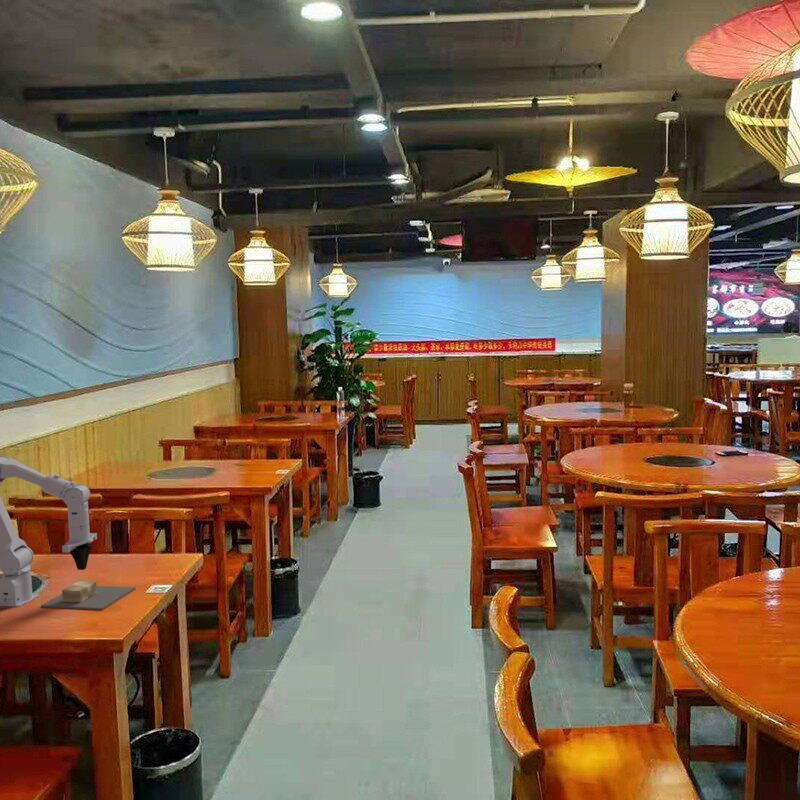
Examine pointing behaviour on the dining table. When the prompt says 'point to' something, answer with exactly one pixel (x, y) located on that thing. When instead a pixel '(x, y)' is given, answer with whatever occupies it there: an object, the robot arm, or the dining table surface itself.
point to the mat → (93, 599)
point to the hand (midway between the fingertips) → (81, 569)
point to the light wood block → (79, 591)
